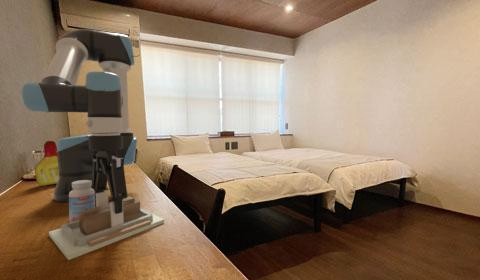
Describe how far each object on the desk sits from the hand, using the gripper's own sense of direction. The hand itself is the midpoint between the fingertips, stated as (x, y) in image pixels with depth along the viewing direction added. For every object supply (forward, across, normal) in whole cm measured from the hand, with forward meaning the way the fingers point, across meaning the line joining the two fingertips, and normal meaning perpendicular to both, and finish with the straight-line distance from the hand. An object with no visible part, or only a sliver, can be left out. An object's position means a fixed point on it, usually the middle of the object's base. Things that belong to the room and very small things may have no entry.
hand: (109, 219), depth 59 cm
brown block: (+1, 0, 0) cm, 1 cm away
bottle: (+3, -68, +2) cm, 68 cm away
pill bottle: (+3, -12, -3) cm, 12 cm away
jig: (+2, 0, 0) cm, 2 cm away
